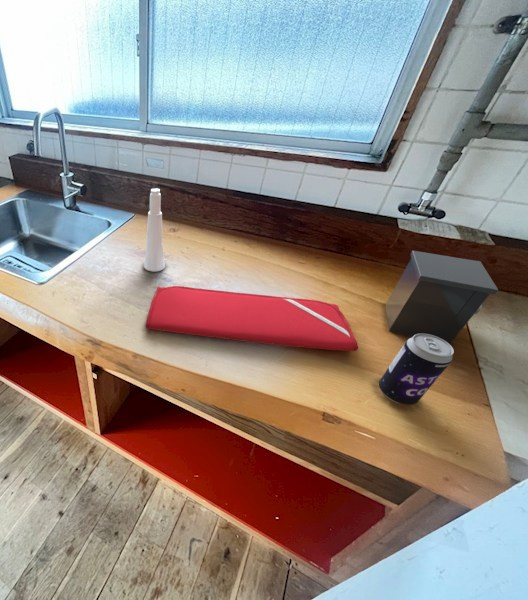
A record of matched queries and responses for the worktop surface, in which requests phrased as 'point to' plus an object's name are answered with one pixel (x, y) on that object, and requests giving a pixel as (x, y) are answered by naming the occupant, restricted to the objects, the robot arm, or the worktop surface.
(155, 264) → the cosmetic bottle
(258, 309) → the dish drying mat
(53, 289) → the worktop surface
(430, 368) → the beverage can
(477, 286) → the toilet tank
